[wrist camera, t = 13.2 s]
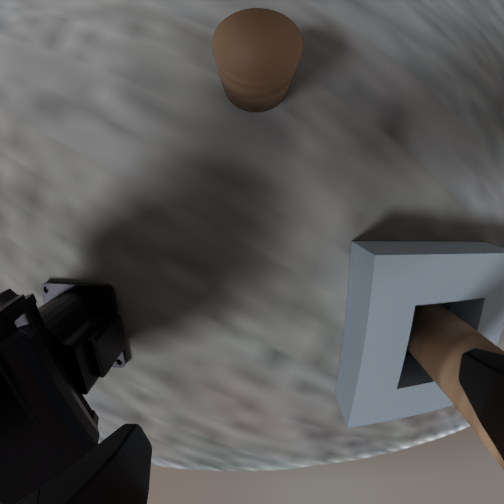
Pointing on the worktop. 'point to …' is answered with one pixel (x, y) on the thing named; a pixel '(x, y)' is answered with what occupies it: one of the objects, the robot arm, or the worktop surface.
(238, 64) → the short walnut pin
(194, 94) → the worktop surface
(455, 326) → the tall walnut pin
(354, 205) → the worktop surface
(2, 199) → the worktop surface
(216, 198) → the worktop surface
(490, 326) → the sleeve block
